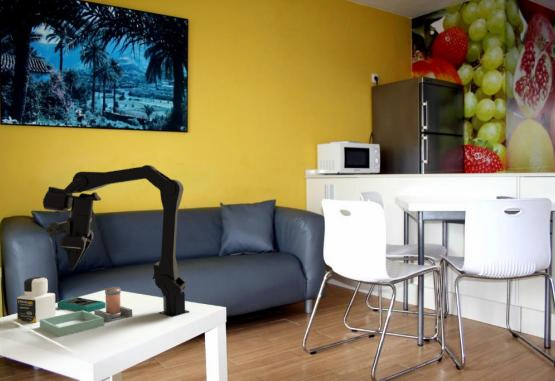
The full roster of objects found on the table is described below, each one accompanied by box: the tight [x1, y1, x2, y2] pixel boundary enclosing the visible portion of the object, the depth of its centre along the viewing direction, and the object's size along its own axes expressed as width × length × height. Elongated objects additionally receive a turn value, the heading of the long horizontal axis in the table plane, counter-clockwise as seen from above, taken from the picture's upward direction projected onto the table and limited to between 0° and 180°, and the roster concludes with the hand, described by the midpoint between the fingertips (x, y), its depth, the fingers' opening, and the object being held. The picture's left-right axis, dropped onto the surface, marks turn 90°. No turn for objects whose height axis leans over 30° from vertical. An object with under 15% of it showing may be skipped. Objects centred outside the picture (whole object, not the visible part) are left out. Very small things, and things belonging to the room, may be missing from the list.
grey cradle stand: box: [93, 305, 133, 323], centre depth 137 cm, size 8×7×2 cm
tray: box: [39, 310, 105, 338], centre depth 128 cm, size 12×12×2 cm
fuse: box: [104, 287, 122, 319], centre depth 137 cm, size 4×4×8 cm
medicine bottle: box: [16, 276, 57, 324], centre depth 136 cm, size 7×7×12 cm
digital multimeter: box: [57, 296, 106, 313], centre depth 148 cm, size 7×15×3 cm, turn 58°
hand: (74, 266), depth 139 cm, fingers open, 9 cm apart
